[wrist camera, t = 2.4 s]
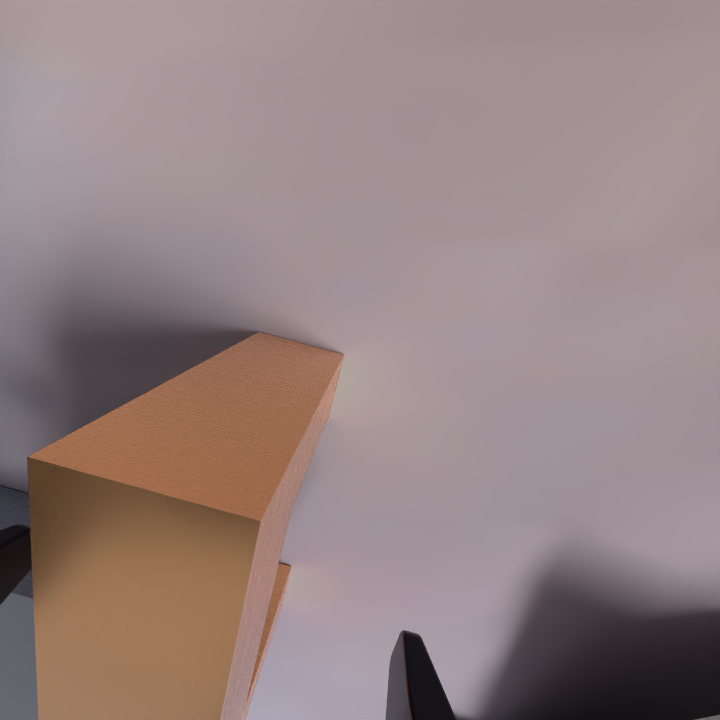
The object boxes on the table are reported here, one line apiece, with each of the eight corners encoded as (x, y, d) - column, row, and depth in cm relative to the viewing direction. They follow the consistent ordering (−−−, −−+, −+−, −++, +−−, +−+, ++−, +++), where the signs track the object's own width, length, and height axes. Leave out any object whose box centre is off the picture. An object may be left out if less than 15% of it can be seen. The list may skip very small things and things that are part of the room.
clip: (280, 607, 13) (174, 943, 6) (215, 588, 13) (46, 905, 6) (344, 354, 10) (261, 520, 4) (259, 331, 10) (27, 456, 4)
